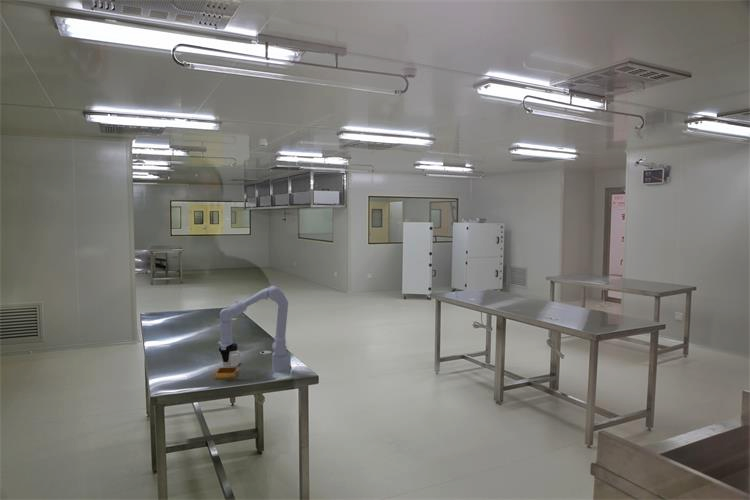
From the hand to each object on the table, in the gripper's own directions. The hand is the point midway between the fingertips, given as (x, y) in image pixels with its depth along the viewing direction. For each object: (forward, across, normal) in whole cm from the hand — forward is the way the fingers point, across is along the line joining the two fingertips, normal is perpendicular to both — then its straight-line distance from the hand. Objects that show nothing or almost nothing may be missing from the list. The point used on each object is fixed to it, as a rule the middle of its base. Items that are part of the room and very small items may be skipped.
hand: (226, 360), depth 237 cm
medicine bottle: (+9, -18, -1) cm, 20 cm away
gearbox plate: (+8, 0, +5) cm, 10 cm away
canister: (+2, 0, 0) cm, 2 cm away
